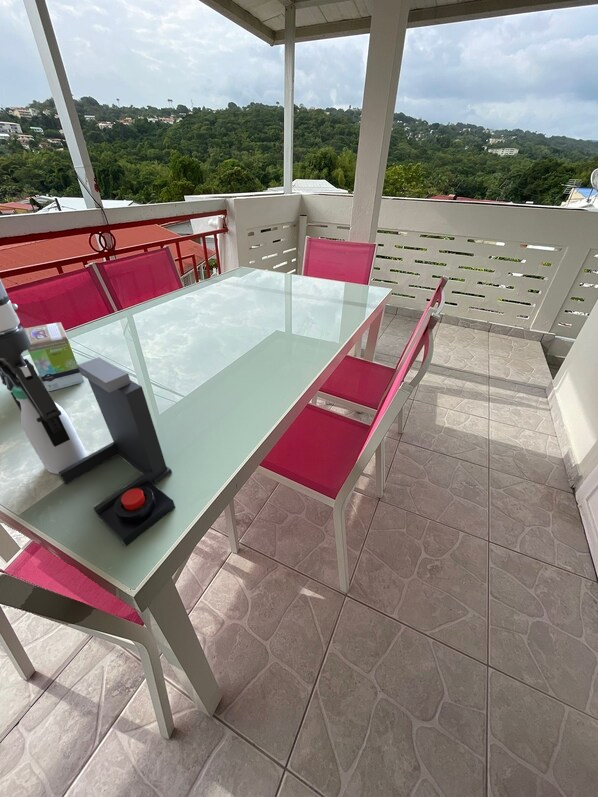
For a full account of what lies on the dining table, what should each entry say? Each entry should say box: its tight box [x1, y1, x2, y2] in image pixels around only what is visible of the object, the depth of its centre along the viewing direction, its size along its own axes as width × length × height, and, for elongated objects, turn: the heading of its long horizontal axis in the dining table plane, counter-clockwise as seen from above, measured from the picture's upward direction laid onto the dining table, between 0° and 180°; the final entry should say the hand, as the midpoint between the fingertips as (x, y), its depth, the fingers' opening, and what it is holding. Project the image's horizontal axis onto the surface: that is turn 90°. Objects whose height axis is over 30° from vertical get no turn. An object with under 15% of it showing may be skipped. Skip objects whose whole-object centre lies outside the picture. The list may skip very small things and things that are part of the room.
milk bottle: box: [11, 386, 87, 475], centre depth 67 cm, size 8×8×20 cm
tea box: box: [24, 321, 85, 392], centre depth 98 cm, size 15×10×15 cm
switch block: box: [99, 481, 176, 547], centre depth 61 cm, size 10×8×4 cm
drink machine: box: [58, 356, 173, 521], centre depth 62 cm, size 15×16×24 cm
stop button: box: [121, 488, 145, 511], centre depth 59 cm, size 4×4×2 cm
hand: (46, 428), depth 67 cm, fingers open, 13 cm apart
